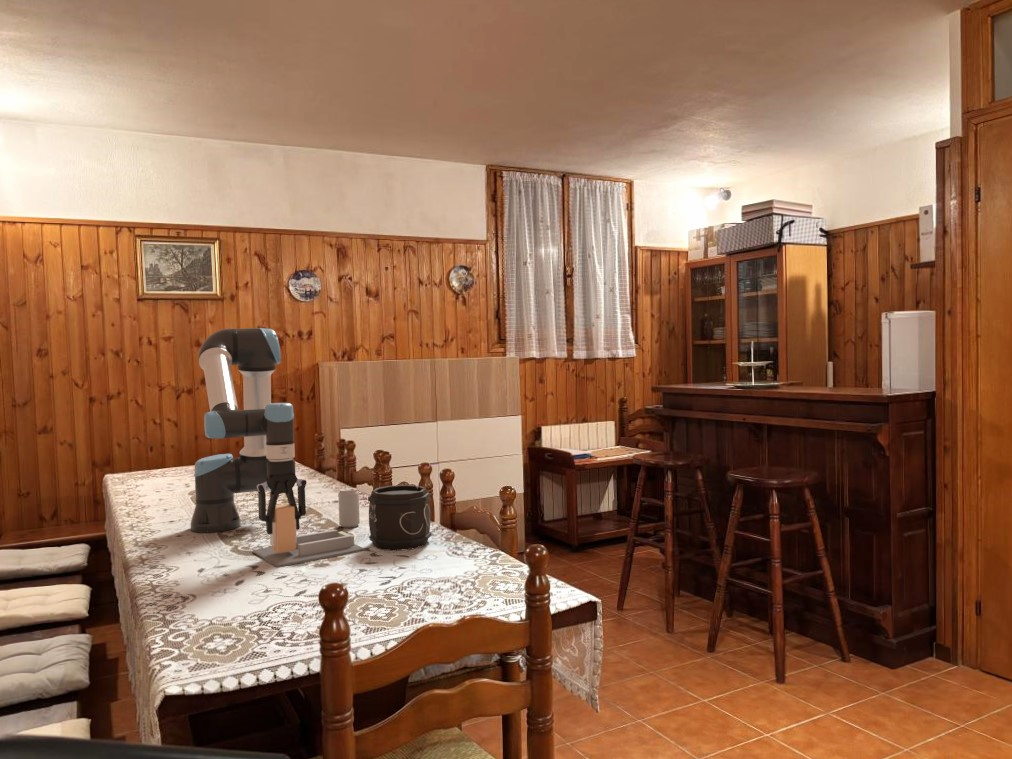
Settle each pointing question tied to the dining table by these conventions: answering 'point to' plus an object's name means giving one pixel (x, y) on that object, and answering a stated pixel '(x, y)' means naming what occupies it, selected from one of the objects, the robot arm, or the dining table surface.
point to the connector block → (284, 528)
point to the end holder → (312, 548)
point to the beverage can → (349, 507)
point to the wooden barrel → (399, 517)
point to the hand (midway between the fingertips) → (283, 543)
